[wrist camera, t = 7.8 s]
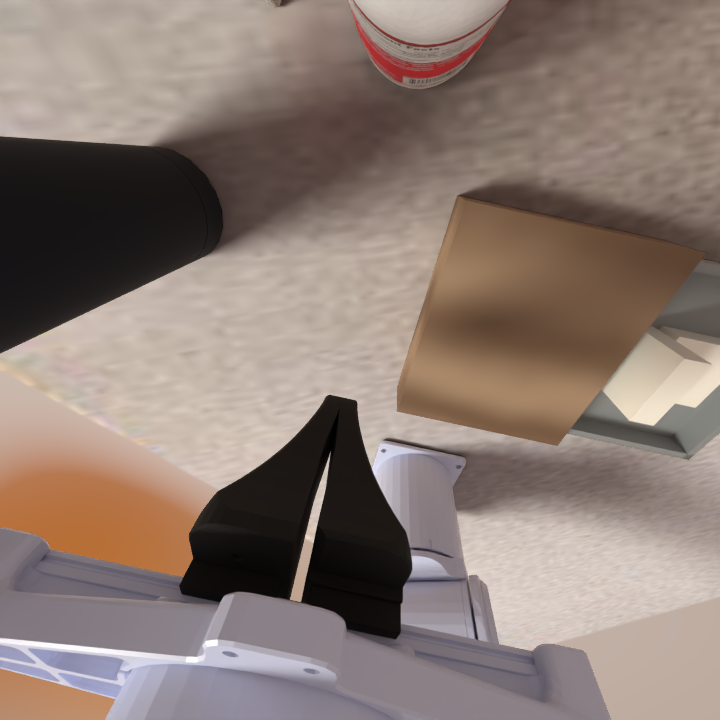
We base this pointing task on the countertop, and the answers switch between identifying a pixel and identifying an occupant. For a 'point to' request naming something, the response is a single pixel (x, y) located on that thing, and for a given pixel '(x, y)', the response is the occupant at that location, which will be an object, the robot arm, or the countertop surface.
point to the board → (532, 318)
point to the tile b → (710, 350)
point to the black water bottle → (93, 227)
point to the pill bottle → (424, 36)
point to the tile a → (653, 377)
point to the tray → (680, 423)
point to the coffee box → (274, 2)
